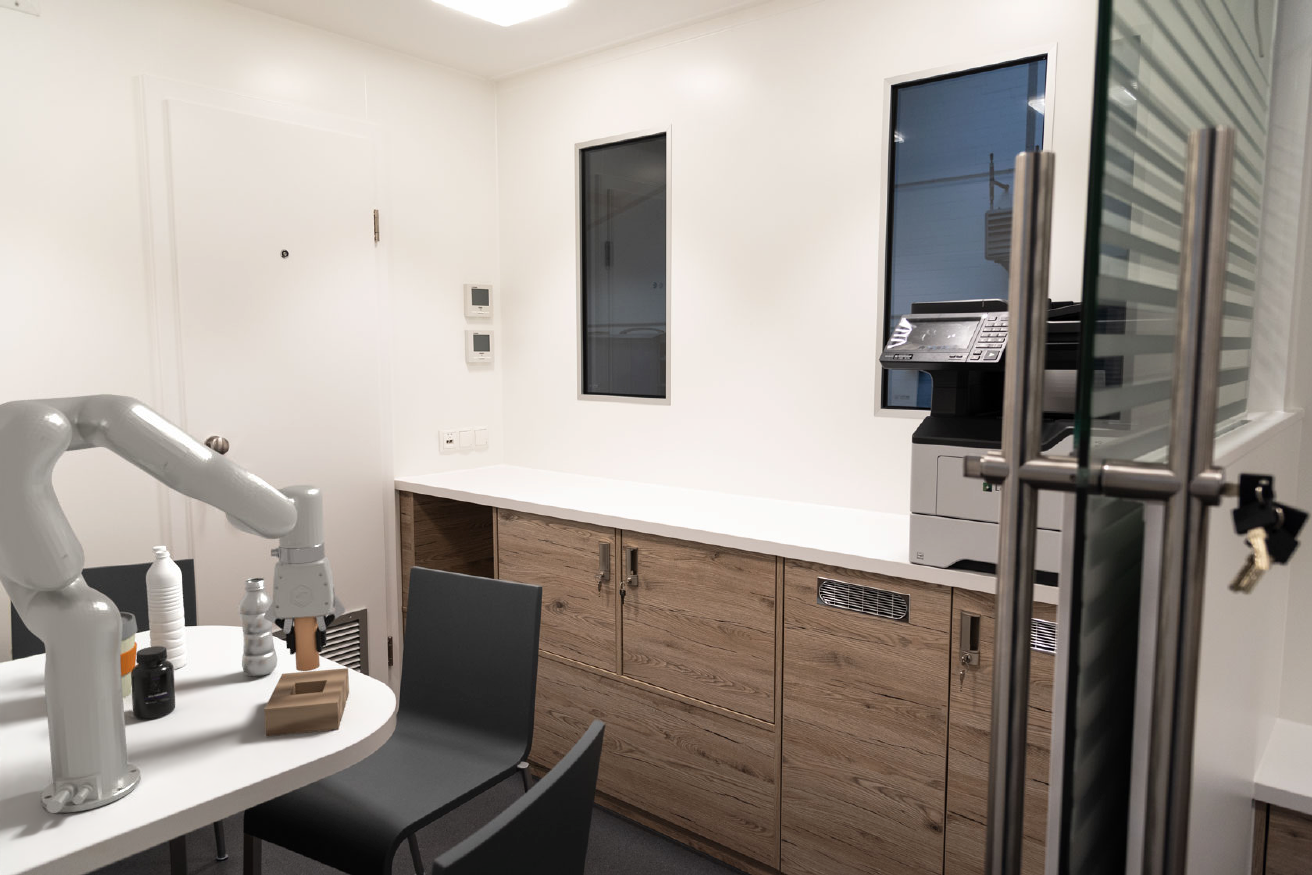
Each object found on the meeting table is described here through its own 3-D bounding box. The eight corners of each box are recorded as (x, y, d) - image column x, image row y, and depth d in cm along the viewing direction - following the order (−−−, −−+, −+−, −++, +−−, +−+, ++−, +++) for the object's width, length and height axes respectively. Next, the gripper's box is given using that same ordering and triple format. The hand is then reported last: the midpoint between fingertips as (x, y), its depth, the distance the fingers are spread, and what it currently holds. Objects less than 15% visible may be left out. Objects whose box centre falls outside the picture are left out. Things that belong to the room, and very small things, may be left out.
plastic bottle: (284, 671, 174) (279, 578, 172) (254, 682, 168) (248, 586, 166) (266, 665, 177) (261, 573, 175) (235, 675, 172) (230, 581, 169)
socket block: (338, 729, 148) (337, 702, 148) (265, 736, 146) (264, 709, 145) (349, 692, 164) (348, 668, 163) (283, 698, 161) (282, 673, 160)
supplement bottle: (156, 722, 151) (152, 658, 149) (124, 718, 152) (119, 655, 151) (184, 706, 157) (180, 645, 156) (153, 703, 159) (149, 642, 157)
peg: (317, 669, 152) (314, 606, 151) (294, 671, 151) (291, 608, 150) (321, 661, 156) (318, 599, 155) (298, 663, 155) (295, 601, 154)
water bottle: (189, 666, 176) (182, 551, 173) (154, 674, 172) (146, 556, 169) (182, 654, 183) (175, 543, 180) (148, 661, 179) (140, 548, 176)
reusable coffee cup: (56, 697, 161) (50, 622, 160) (130, 678, 170) (125, 607, 169) (73, 717, 153) (67, 638, 151) (150, 695, 162) (145, 621, 160)
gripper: (247, 561, 146) (253, 662, 148) (348, 556, 150) (352, 654, 152) (257, 551, 153) (262, 647, 155) (353, 546, 157) (357, 639, 159)
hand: (307, 649), depth 153 cm, fingers closed on peg, 4 cm apart
